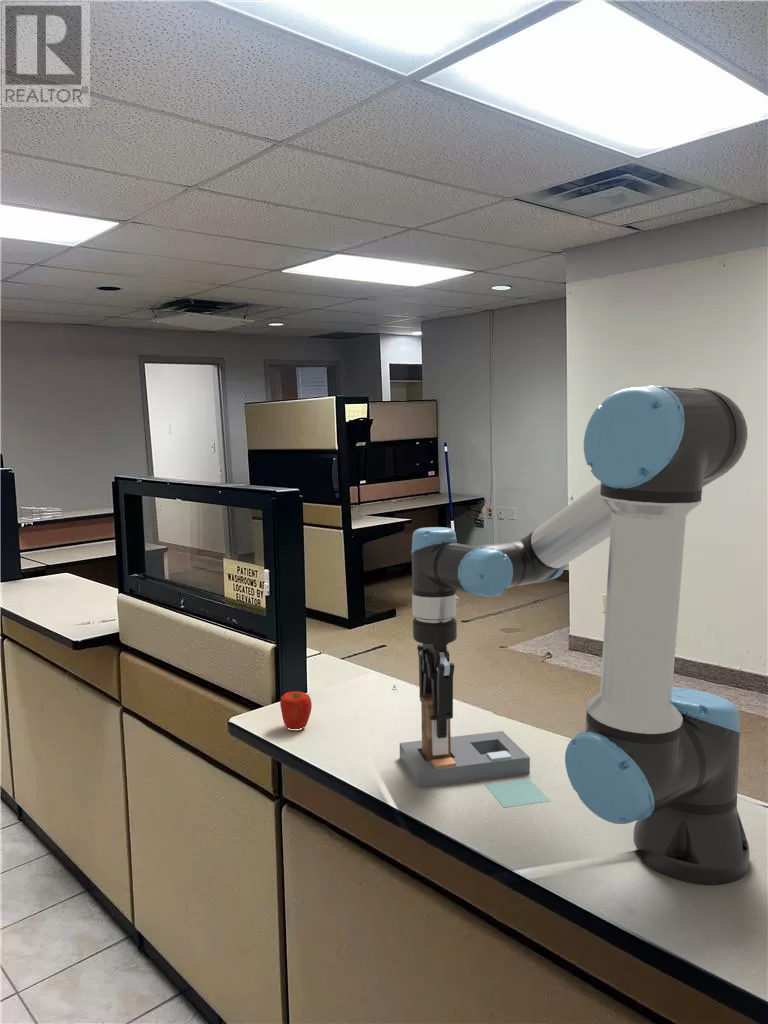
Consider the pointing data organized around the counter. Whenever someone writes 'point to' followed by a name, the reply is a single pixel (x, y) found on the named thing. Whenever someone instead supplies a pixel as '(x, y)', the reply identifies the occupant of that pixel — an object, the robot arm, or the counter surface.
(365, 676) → the counter surface
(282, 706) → the apple
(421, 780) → the port box
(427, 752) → the plug
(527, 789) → the plate
